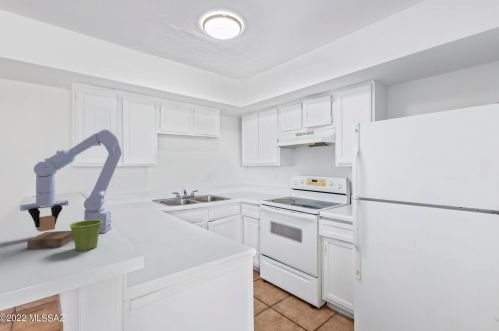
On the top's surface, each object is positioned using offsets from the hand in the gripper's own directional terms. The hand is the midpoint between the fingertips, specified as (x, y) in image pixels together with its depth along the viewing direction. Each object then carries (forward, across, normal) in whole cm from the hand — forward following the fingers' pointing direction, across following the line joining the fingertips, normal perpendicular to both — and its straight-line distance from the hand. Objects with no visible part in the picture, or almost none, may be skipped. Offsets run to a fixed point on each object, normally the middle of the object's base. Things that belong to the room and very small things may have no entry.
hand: (45, 225), depth 93 cm
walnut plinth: (+4, +2, +13) cm, 13 cm away
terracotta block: (+2, 0, 0) cm, 2 cm away
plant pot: (+5, -3, +28) cm, 29 cm away
